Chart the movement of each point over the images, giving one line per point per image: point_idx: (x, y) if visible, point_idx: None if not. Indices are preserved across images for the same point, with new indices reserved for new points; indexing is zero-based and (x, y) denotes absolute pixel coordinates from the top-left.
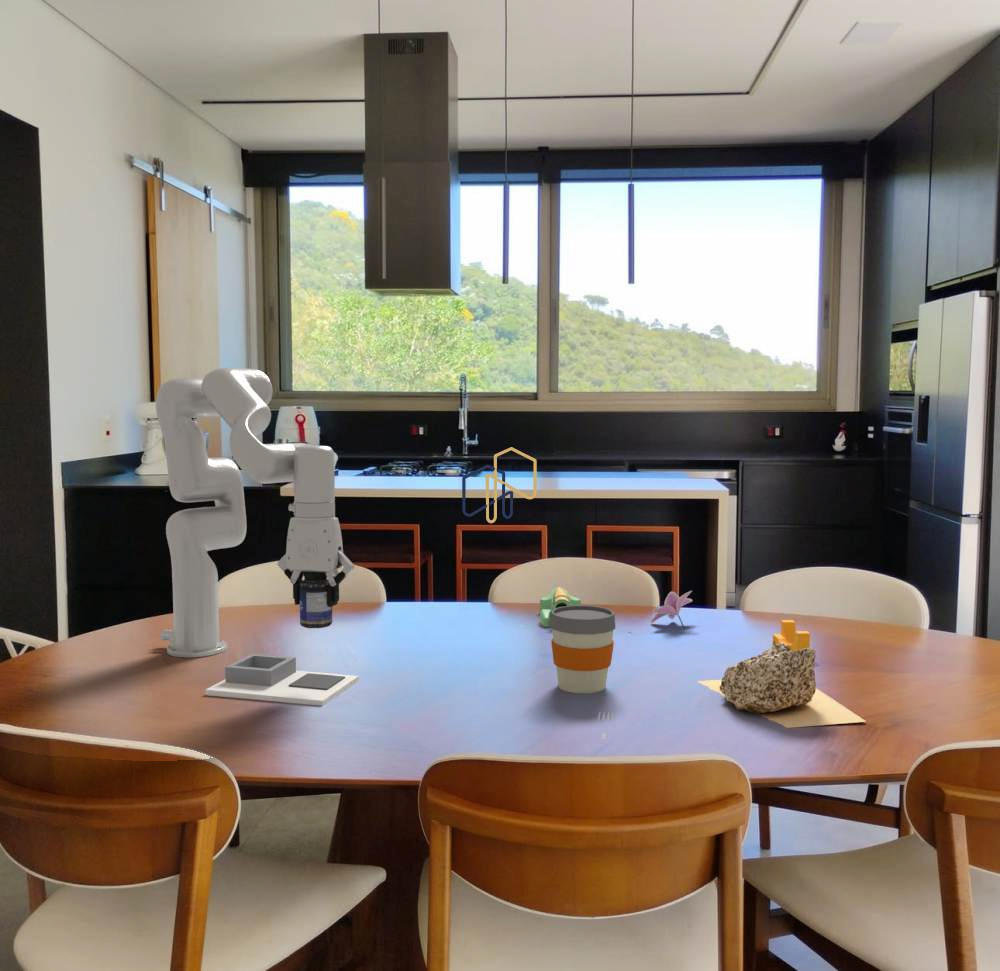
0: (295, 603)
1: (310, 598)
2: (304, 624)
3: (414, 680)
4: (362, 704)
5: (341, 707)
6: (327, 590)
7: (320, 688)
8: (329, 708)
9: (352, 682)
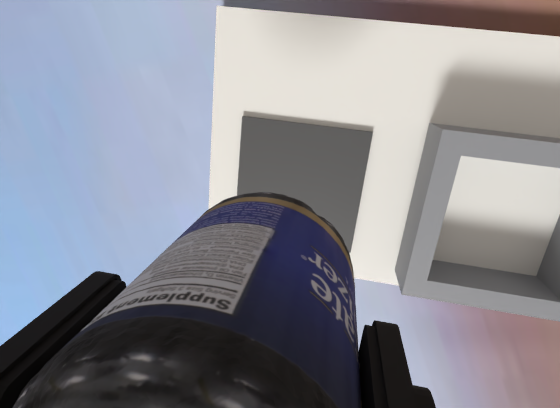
0: (389, 323)
1: (204, 270)
2: (304, 206)
3: (92, 271)
4: (130, 62)
5: (172, 22)
6: (25, 362)
7: (264, 118)
8: (201, 5)
9: None
